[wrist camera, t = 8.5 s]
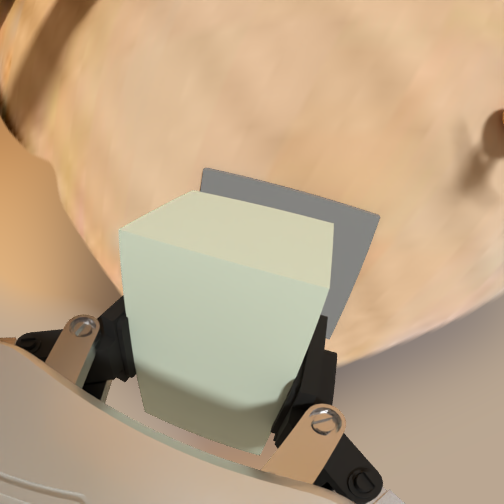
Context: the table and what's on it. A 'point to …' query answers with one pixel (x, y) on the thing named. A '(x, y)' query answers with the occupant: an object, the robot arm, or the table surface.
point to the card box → (222, 311)
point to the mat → (343, 216)
